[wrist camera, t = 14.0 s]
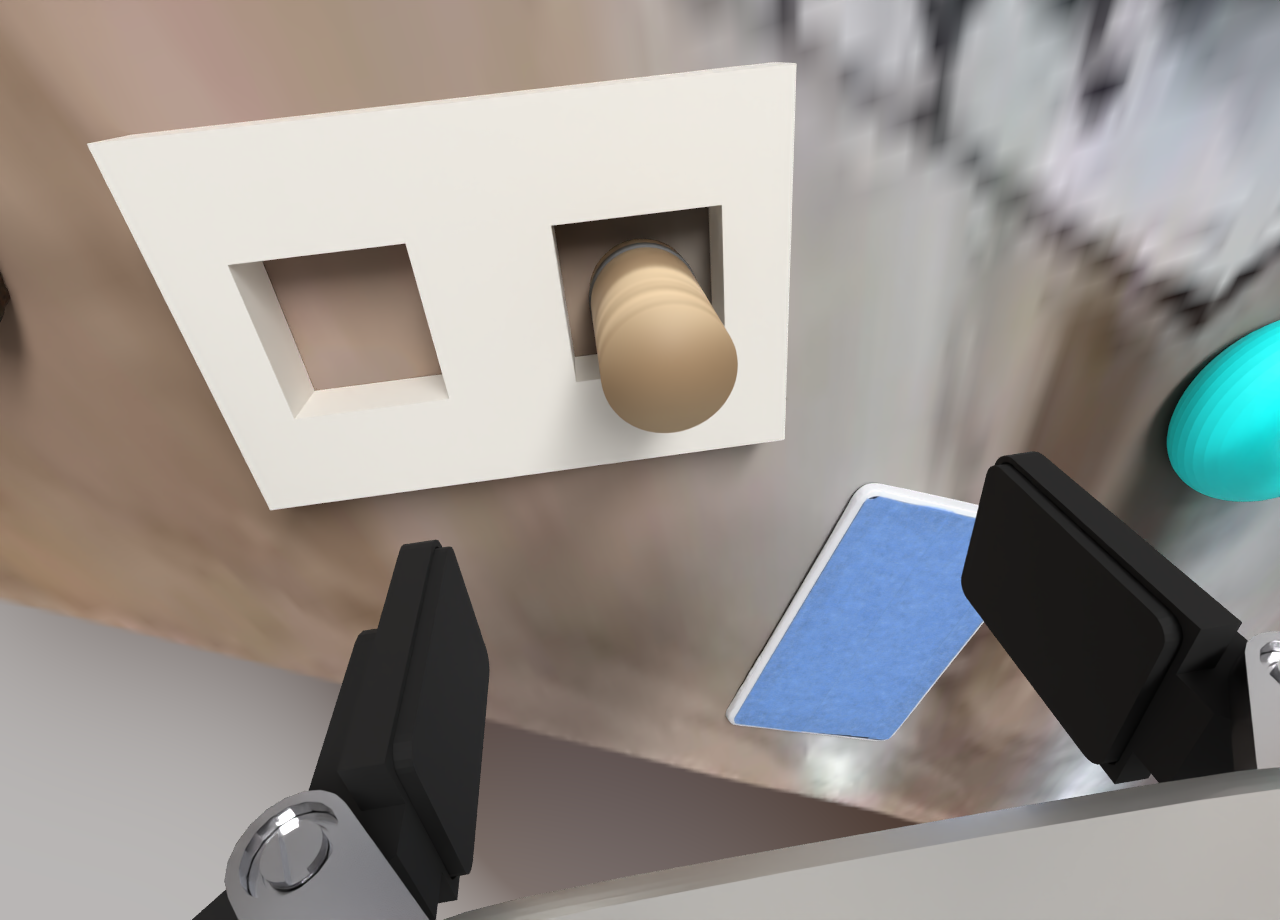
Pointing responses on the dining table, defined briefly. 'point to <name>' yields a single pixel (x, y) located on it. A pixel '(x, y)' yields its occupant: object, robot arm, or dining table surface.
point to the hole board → (465, 267)
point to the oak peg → (658, 339)
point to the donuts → (1232, 422)
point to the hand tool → (3, 297)
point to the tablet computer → (868, 621)
